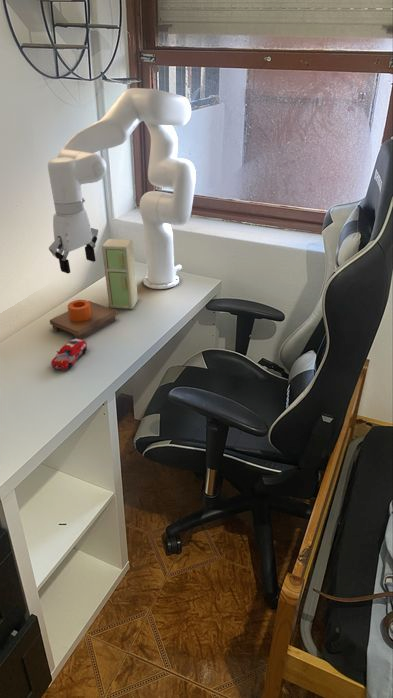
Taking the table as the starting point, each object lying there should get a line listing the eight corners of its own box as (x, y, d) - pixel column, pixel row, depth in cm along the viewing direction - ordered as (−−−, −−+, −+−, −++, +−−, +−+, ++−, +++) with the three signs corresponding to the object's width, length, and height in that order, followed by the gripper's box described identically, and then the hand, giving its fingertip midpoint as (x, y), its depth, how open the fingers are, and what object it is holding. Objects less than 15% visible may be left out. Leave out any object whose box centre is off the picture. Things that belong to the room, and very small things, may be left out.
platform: (90, 310, 168) (88, 300, 166) (117, 320, 162) (116, 310, 160) (51, 330, 157) (49, 320, 155) (79, 341, 151) (77, 331, 149)
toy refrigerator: (107, 308, 169) (100, 246, 158) (114, 299, 175) (108, 238, 164) (131, 310, 167) (126, 247, 157) (138, 300, 174) (133, 239, 163)
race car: (66, 374, 137) (63, 361, 135) (48, 370, 138) (45, 357, 136) (91, 349, 147) (89, 336, 145) (74, 346, 149) (72, 333, 147)
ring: (81, 309, 161) (79, 297, 159) (96, 315, 157) (94, 303, 155) (65, 317, 156) (63, 305, 154) (80, 323, 153) (78, 311, 151)
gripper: (83, 196, 148) (91, 253, 157) (34, 213, 137) (46, 274, 146) (102, 200, 144) (109, 259, 154) (53, 218, 133) (64, 280, 142)
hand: (78, 266), depth 150 cm, fingers open, 9 cm apart
